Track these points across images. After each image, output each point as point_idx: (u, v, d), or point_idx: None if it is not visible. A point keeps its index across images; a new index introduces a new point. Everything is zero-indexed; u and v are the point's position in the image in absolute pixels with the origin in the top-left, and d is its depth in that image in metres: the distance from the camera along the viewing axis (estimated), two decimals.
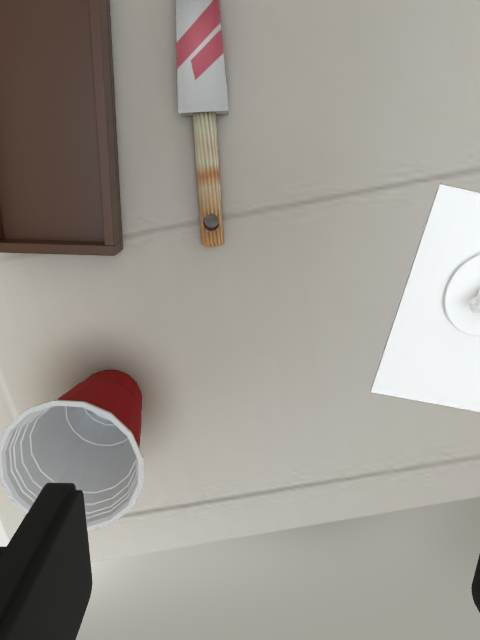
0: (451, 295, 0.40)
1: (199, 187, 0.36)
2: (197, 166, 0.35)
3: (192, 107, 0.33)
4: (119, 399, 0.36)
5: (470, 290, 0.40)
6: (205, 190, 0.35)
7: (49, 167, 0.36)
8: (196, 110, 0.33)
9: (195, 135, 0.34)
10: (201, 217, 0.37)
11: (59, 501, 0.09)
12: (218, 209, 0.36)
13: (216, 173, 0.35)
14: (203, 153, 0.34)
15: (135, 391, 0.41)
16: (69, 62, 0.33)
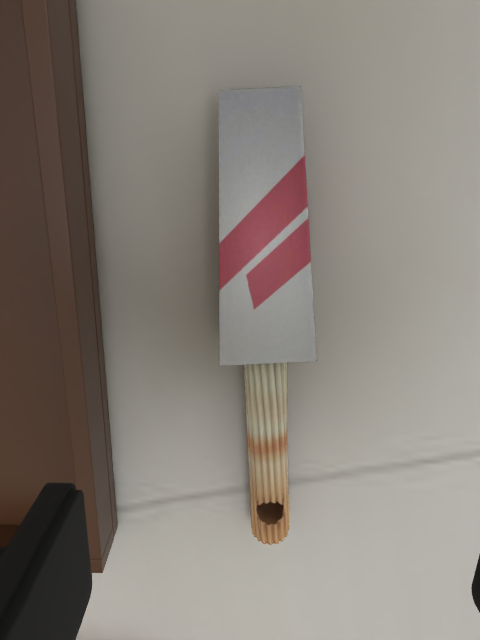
0: None
1: (251, 460, 0.20)
2: (249, 429, 0.20)
3: (247, 356, 0.17)
4: None
5: None
6: (263, 469, 0.20)
7: None
8: (254, 361, 0.17)
9: (248, 386, 0.19)
10: (253, 500, 0.21)
11: (59, 501, 0.09)
12: (284, 492, 0.21)
13: (283, 443, 0.20)
14: (262, 417, 0.19)
15: None
16: (13, 262, 0.18)
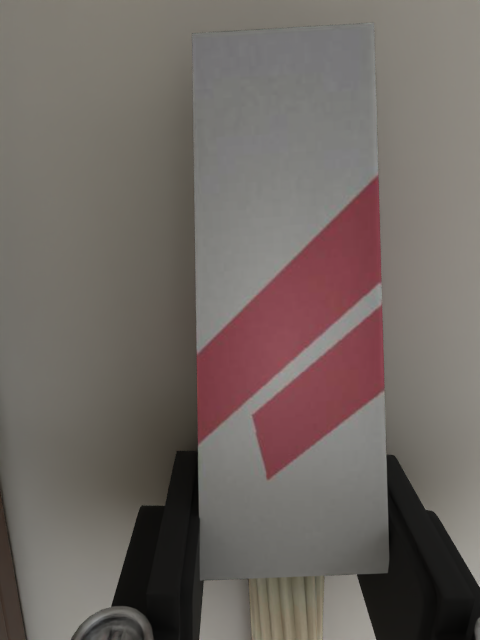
0: None
1: None
2: None
3: (254, 563, 0.09)
4: None
5: None
6: None
7: None
8: (269, 573, 0.09)
9: (255, 588, 0.10)
10: None
11: (194, 465, 0.10)
12: None
13: None
14: None
15: None
16: None
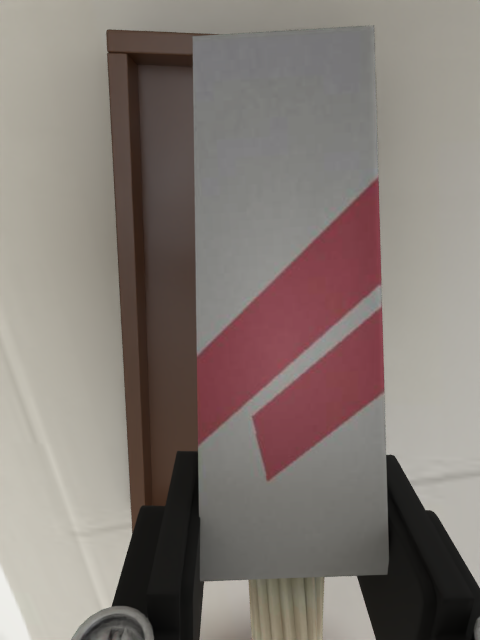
0: None
1: None
2: None
3: (254, 564, 0.09)
4: None
5: None
6: None
7: None
8: (268, 574, 0.09)
9: (255, 588, 0.10)
10: None
11: (194, 465, 0.10)
12: None
13: None
14: None
15: None
16: None
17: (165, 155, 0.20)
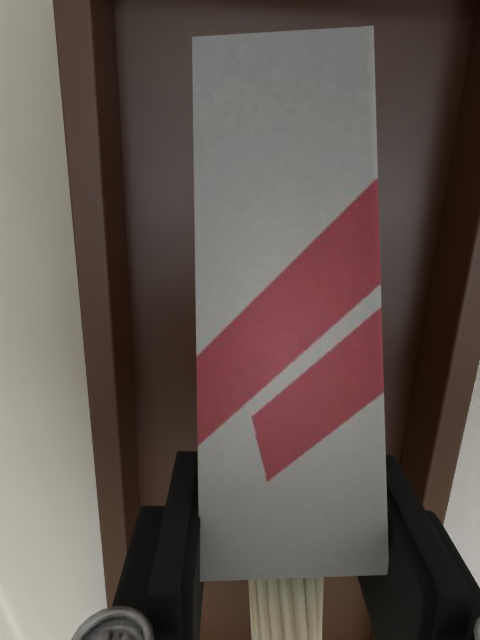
0: None
1: None
2: None
3: (253, 565, 0.09)
4: None
5: None
6: None
7: None
8: (268, 574, 0.09)
9: (255, 589, 0.10)
10: None
11: (194, 465, 0.10)
12: None
13: None
14: None
15: None
16: None
17: (163, 149, 0.12)
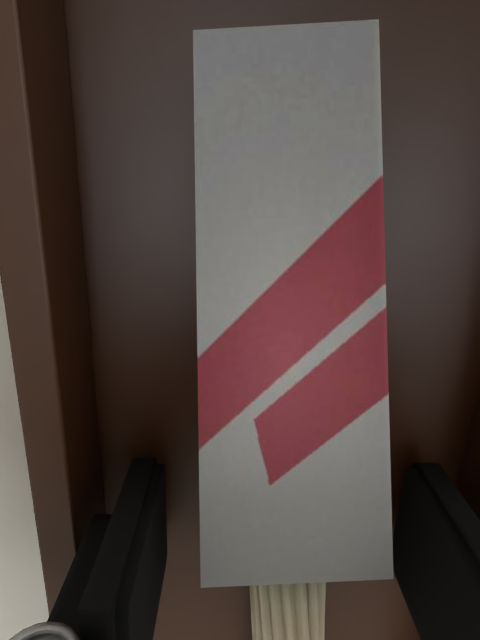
0: None
1: None
2: None
3: (256, 570, 0.09)
4: None
5: None
6: None
7: None
8: (270, 580, 0.09)
9: (256, 594, 0.10)
10: None
11: (148, 472, 0.10)
12: None
13: None
14: None
15: None
16: None
17: (133, 143, 0.09)
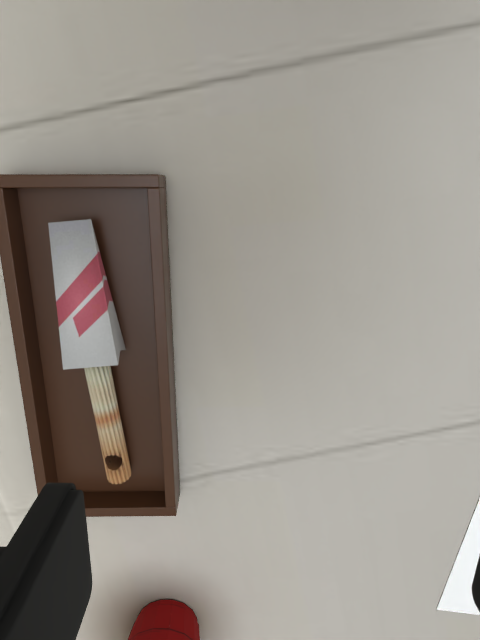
0: None
1: (97, 428, 0.33)
2: (93, 409, 0.33)
3: (78, 363, 0.30)
4: None
5: None
6: (103, 433, 0.33)
7: None
8: (82, 366, 0.30)
9: (87, 381, 0.32)
10: (103, 455, 0.34)
11: (59, 501, 0.09)
12: (120, 448, 0.33)
13: (114, 416, 0.32)
14: (96, 400, 0.32)
15: (194, 630, 0.39)
16: (129, 336, 0.33)
17: (41, 243, 0.30)
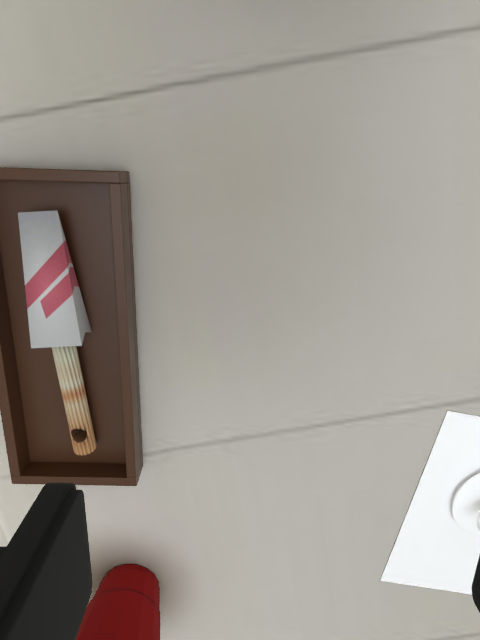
0: (458, 503, 0.41)
1: (64, 403, 0.36)
2: (60, 385, 0.35)
3: (45, 343, 0.33)
4: (141, 623, 0.38)
5: (476, 497, 0.42)
6: (69, 408, 0.35)
7: None
8: (49, 345, 0.33)
9: (54, 360, 0.34)
10: (69, 428, 0.37)
11: (59, 501, 0.09)
12: (85, 423, 0.36)
13: (79, 393, 0.35)
14: (63, 377, 0.34)
15: (154, 592, 0.42)
16: (95, 319, 0.35)
17: (12, 231, 0.33)
